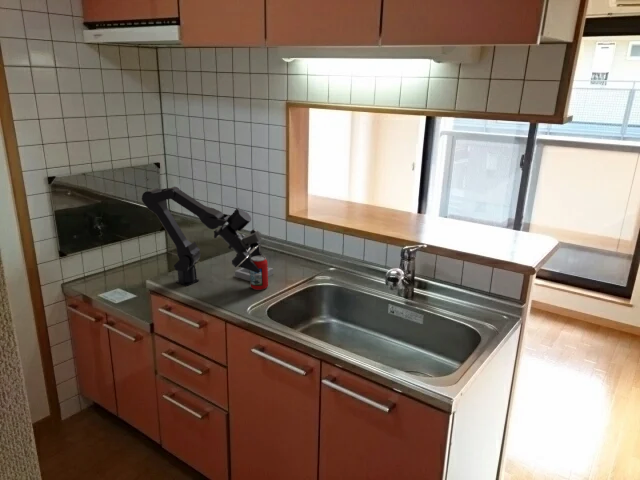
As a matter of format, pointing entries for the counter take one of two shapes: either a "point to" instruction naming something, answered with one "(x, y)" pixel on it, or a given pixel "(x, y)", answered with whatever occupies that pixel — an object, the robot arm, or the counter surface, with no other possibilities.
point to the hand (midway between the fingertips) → (262, 268)
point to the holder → (245, 274)
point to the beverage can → (261, 278)
